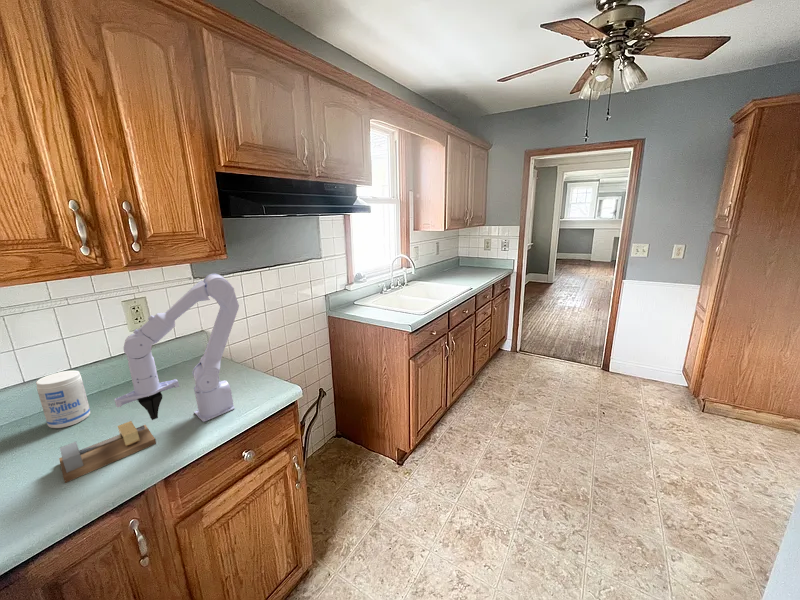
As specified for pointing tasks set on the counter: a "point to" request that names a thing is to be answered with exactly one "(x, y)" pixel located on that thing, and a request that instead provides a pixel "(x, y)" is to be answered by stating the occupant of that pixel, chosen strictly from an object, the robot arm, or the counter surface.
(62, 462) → the base
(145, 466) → the counter surface
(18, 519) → the counter surface
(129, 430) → the nut
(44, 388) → the supplement tub
